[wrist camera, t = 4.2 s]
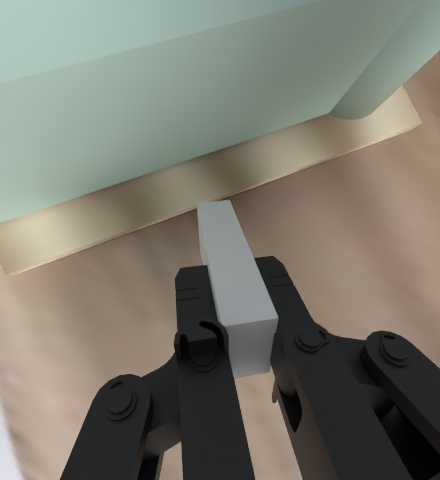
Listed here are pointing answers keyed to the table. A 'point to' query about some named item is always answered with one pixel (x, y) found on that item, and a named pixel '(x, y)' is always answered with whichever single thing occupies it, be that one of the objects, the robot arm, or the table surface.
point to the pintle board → (193, 184)
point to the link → (183, 81)
